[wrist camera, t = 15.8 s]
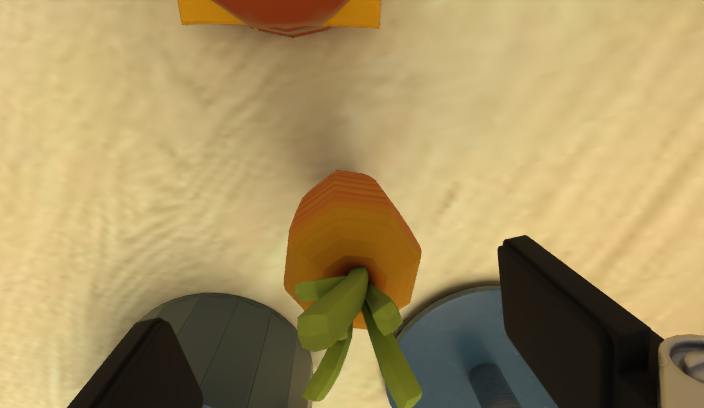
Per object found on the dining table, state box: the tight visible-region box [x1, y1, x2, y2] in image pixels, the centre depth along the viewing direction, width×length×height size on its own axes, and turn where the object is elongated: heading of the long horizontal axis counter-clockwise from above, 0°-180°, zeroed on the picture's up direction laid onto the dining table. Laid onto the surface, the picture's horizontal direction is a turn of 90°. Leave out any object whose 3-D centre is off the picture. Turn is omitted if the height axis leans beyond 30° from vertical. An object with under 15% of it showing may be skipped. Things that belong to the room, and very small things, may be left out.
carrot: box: [284, 170, 422, 408], centre depth 15 cm, size 5×5×15 cm
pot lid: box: [385, 285, 558, 408], centre depth 24 cm, size 15×15×6 cm
